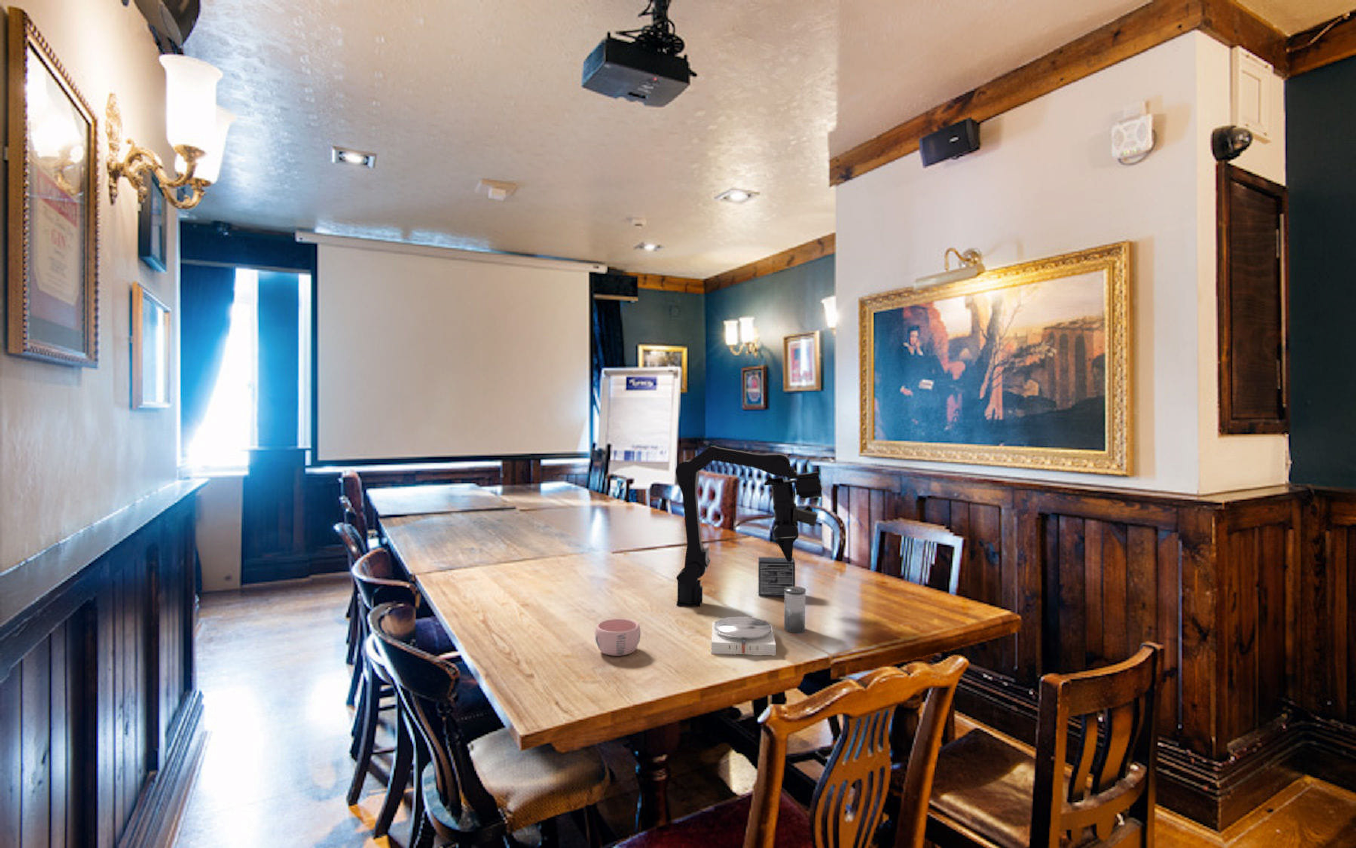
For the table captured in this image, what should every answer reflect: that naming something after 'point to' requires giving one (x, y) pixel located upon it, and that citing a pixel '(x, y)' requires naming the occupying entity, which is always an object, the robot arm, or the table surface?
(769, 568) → the small box
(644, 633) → the table surface
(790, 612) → the steel weight
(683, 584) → the robot arm
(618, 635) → the mug
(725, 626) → the scale pan
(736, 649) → the base
